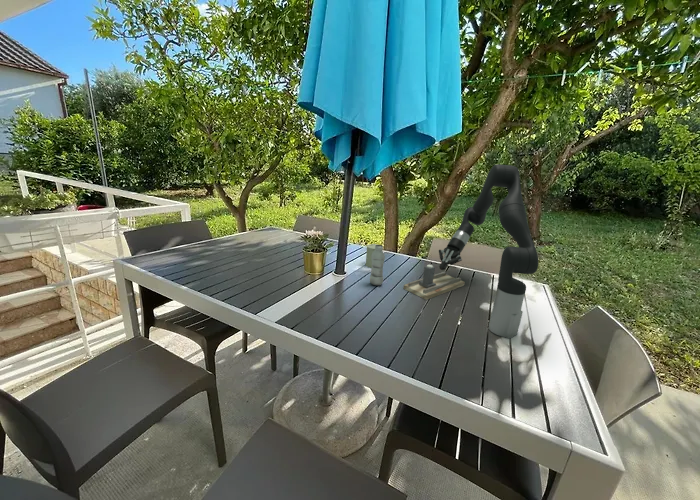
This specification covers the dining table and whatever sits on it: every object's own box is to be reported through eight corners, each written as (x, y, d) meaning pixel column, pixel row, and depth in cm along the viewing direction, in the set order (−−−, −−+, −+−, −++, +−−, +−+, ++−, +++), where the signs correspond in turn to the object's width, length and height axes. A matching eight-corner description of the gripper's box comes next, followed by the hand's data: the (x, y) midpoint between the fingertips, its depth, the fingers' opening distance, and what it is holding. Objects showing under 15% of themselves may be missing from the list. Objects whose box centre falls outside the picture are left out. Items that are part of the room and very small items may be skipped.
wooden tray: (464, 285, 159) (465, 279, 158) (426, 299, 141) (427, 292, 140) (441, 276, 170) (442, 270, 168) (403, 288, 152) (404, 281, 151)
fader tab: (435, 286, 150) (438, 266, 147) (428, 288, 147) (431, 268, 144) (425, 282, 155) (428, 262, 152) (419, 284, 152) (421, 264, 149)
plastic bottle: (382, 287, 152) (385, 248, 145) (368, 285, 153) (371, 246, 147) (383, 282, 158) (386, 244, 151) (370, 280, 159) (373, 243, 153)
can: (373, 261, 187) (374, 242, 183) (384, 266, 180) (386, 246, 177) (362, 264, 181) (363, 244, 178) (373, 269, 175) (374, 248, 171)
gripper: (445, 233, 160) (427, 261, 156) (468, 240, 150) (450, 270, 147) (449, 241, 165) (432, 268, 161) (472, 249, 156) (455, 277, 152)
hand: (441, 269), depth 154 cm, fingers closed
